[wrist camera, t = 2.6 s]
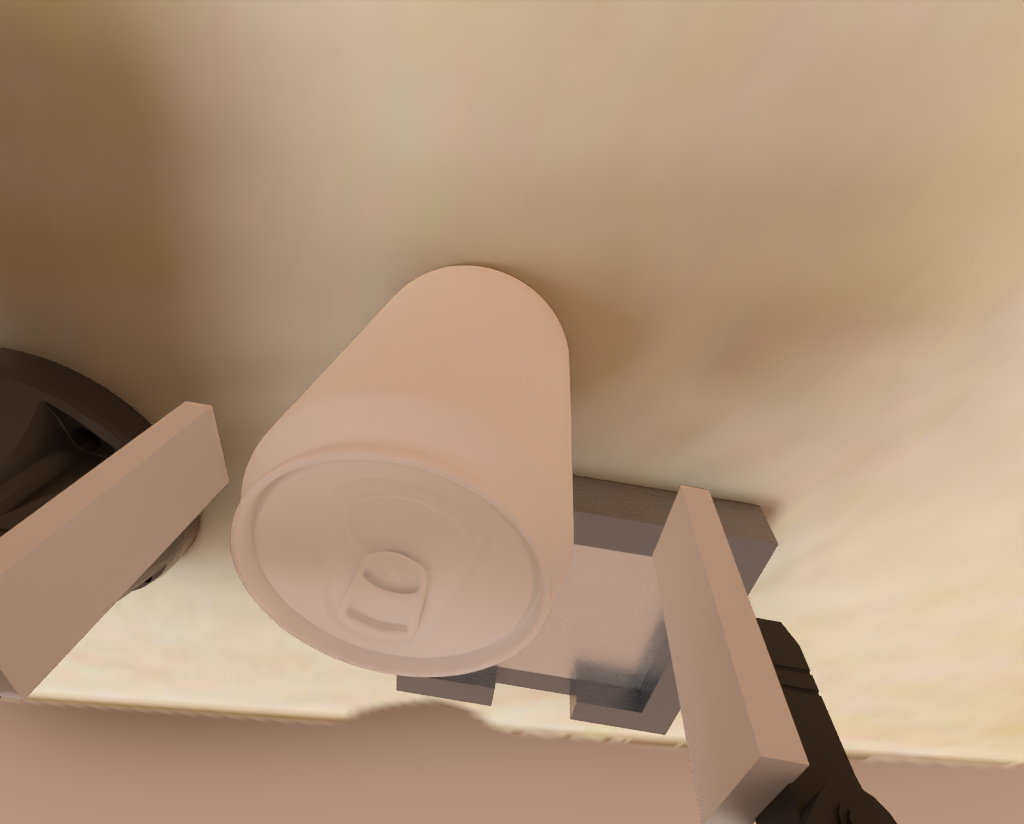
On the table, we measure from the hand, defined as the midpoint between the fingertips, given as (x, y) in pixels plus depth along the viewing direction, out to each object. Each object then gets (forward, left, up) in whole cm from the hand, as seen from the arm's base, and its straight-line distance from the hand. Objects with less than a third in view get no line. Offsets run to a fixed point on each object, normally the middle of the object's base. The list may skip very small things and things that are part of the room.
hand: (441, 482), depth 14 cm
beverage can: (0, 0, -9) cm, 9 cm away
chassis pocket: (+6, -14, -8) cm, 17 cm away
